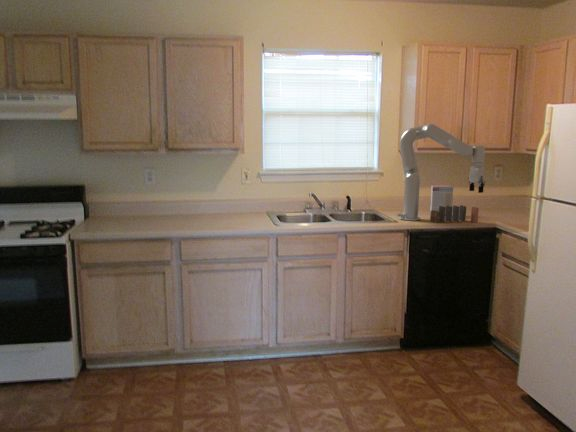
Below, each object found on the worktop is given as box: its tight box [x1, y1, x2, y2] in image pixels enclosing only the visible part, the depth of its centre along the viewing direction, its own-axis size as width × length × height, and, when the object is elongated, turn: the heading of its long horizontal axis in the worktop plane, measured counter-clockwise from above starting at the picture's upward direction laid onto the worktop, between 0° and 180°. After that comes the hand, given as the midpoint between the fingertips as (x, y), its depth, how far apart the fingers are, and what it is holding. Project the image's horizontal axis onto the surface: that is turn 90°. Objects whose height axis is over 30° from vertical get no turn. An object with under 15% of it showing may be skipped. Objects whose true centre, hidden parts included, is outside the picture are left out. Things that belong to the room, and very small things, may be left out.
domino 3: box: [452, 205, 460, 223], centre depth 335 cm, size 2×5×10 cm, turn 13°
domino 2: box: [445, 206, 453, 223], centre depth 334 cm, size 2×5×10 cm, turn 13°
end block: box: [429, 210, 440, 224], centre depth 332 cm, size 2×7×7 cm, turn 14°
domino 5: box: [470, 206, 479, 224], centre depth 331 cm, size 2×5×10 cm, turn 13°
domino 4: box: [459, 204, 467, 222], centre depth 336 cm, size 2×5×10 cm, turn 13°
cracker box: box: [429, 184, 454, 217], centre depth 355 cm, size 14×6×21 cm, turn 84°
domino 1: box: [439, 206, 446, 223], centre depth 333 cm, size 2×5×10 cm, turn 14°
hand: (476, 191), depth 329 cm, fingers open, 9 cm apart
